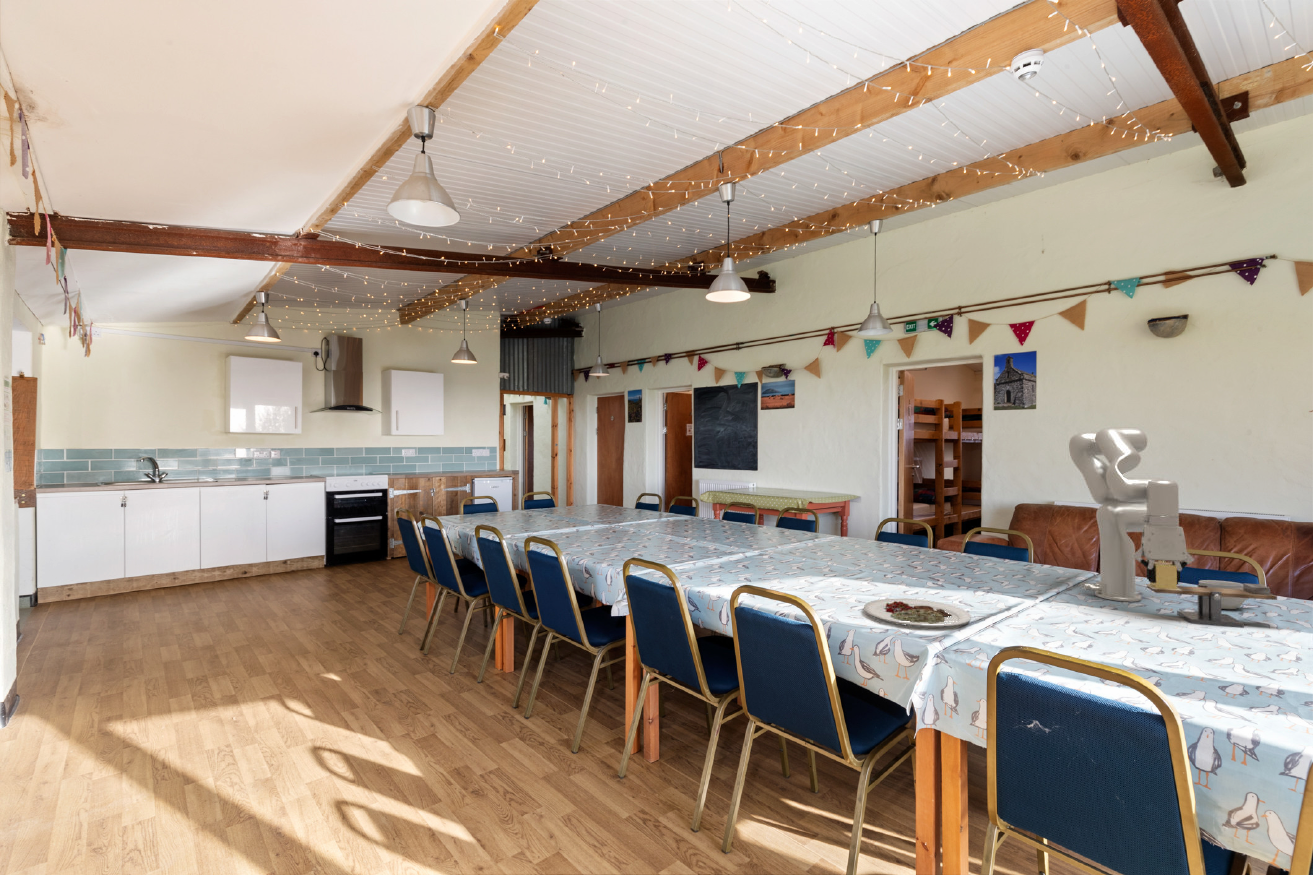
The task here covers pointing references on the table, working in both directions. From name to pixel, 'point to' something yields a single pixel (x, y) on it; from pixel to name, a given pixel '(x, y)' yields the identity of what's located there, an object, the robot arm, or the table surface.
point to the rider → (1165, 575)
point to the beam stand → (1210, 612)
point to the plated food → (917, 612)
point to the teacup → (1226, 601)
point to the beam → (1222, 591)
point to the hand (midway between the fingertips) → (1163, 582)
